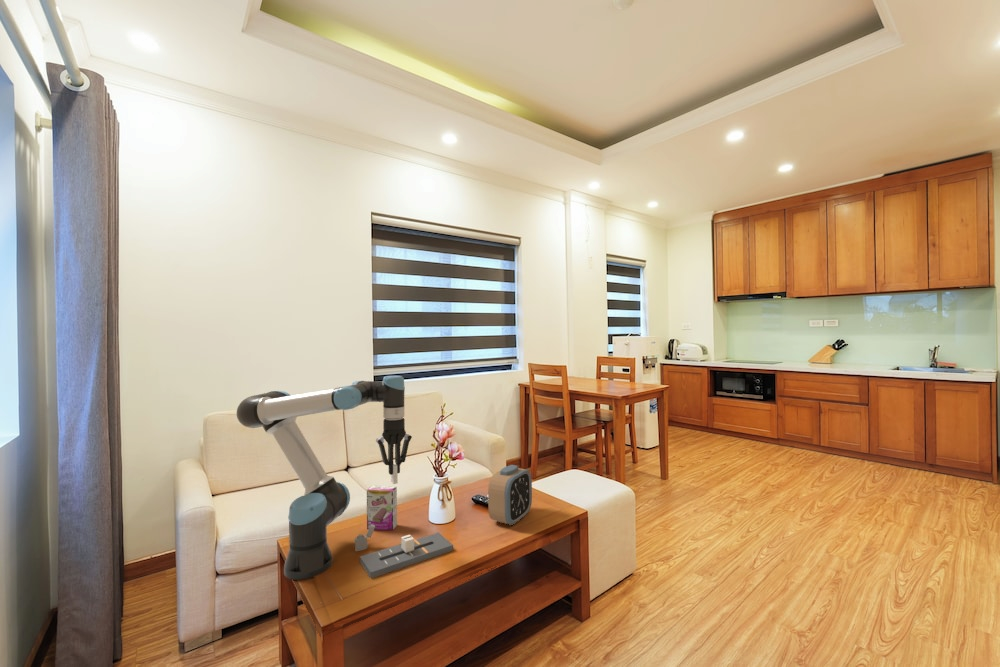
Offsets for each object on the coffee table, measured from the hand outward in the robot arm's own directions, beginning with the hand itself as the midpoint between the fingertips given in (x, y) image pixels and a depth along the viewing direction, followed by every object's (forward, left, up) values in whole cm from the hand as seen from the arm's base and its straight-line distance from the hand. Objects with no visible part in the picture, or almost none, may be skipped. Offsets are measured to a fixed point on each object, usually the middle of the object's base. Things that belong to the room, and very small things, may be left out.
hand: (394, 482), depth 154 cm
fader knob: (+2, -7, -25) cm, 26 cm away
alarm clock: (+49, -5, -25) cm, 55 cm away
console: (+2, -7, -25) cm, 26 cm away
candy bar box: (+2, +20, -25) cm, 32 cm away
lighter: (-9, +8, -25) cm, 27 cm away
